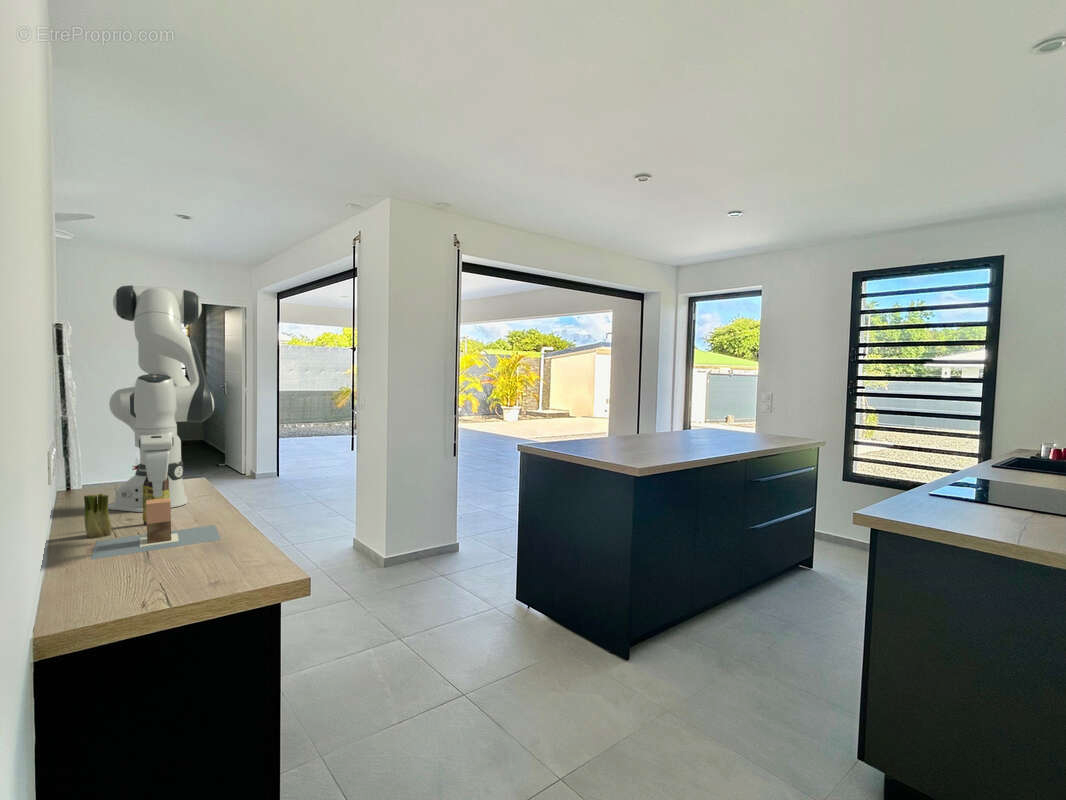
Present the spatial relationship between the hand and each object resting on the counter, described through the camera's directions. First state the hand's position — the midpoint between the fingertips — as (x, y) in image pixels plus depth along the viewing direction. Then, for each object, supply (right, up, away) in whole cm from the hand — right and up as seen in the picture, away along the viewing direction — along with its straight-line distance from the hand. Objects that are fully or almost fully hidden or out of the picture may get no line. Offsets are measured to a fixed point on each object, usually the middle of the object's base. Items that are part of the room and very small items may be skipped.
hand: (157, 492), depth 137 cm
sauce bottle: (-12, -13, +17) cm, 24 cm away
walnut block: (0, -12, 0) cm, 12 cm away
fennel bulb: (-18, -13, +4) cm, 23 cm away
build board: (0, -13, 0) cm, 13 cm away
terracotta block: (0, -7, 0) cm, 7 cm away
